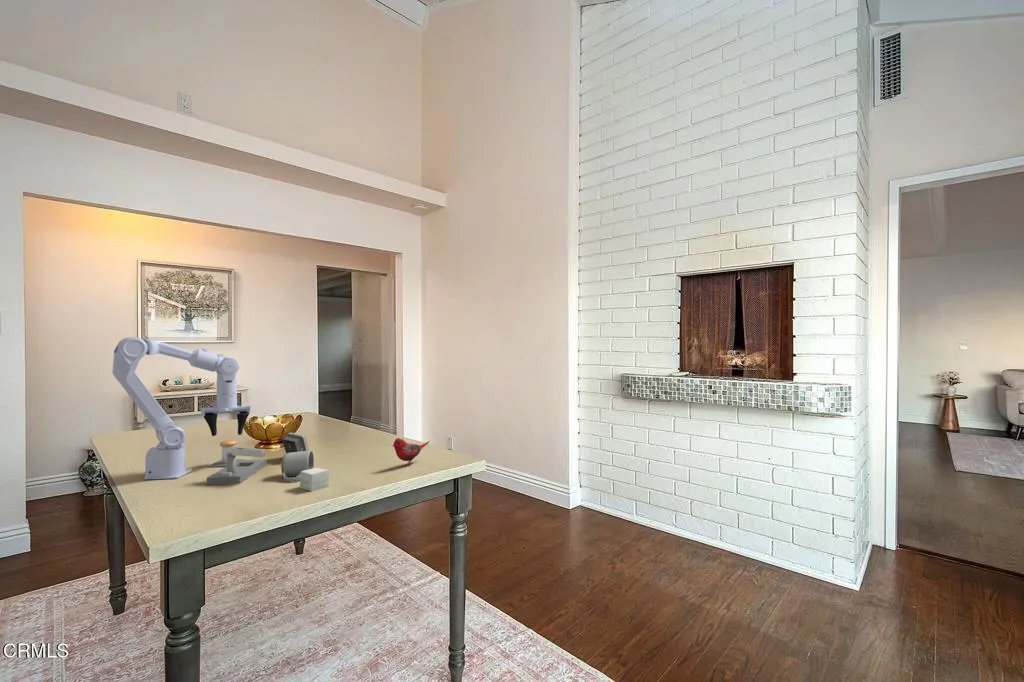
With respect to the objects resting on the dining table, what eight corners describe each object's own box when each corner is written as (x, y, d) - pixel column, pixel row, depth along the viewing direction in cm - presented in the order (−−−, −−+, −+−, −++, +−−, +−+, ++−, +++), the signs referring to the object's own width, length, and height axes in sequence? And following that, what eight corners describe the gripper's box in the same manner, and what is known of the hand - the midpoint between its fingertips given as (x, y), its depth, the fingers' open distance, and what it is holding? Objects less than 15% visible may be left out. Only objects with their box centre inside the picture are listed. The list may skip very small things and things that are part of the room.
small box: (329, 486, 135) (329, 469, 135) (311, 492, 130) (311, 474, 130) (317, 483, 138) (317, 466, 138) (299, 488, 133) (299, 471, 133)
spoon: (231, 453, 143) (231, 446, 143) (266, 455, 140) (266, 448, 140) (224, 455, 140) (224, 448, 140) (259, 457, 138) (259, 450, 138)
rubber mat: (207, 467, 154) (207, 466, 154) (219, 461, 162) (219, 460, 162) (233, 466, 155) (233, 465, 155) (244, 460, 163) (244, 459, 163)
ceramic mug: (286, 473, 148) (286, 448, 148) (314, 471, 149) (314, 447, 149) (276, 483, 138) (276, 457, 137) (306, 482, 139) (306, 456, 139)
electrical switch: (311, 459, 165) (309, 433, 164) (298, 464, 160) (295, 437, 159) (296, 456, 170) (293, 430, 169) (282, 460, 165) (279, 434, 165)
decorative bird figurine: (389, 469, 152) (389, 439, 152) (426, 458, 167) (426, 430, 167) (395, 471, 150) (395, 440, 150) (432, 459, 165) (432, 430, 165)
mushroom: (219, 465, 155) (219, 444, 155) (219, 462, 159) (219, 441, 159) (236, 463, 157) (236, 442, 157) (236, 460, 162) (236, 440, 162)
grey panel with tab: (206, 484, 136) (206, 459, 136) (237, 466, 156) (237, 444, 156) (239, 483, 137) (239, 458, 137) (266, 465, 157) (266, 443, 157)
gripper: (197, 396, 150) (197, 438, 150) (247, 394, 153) (247, 436, 153) (205, 393, 156) (206, 434, 156) (253, 392, 160) (254, 431, 160)
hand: (227, 434), depth 155 cm, fingers open, 7 cm apart
